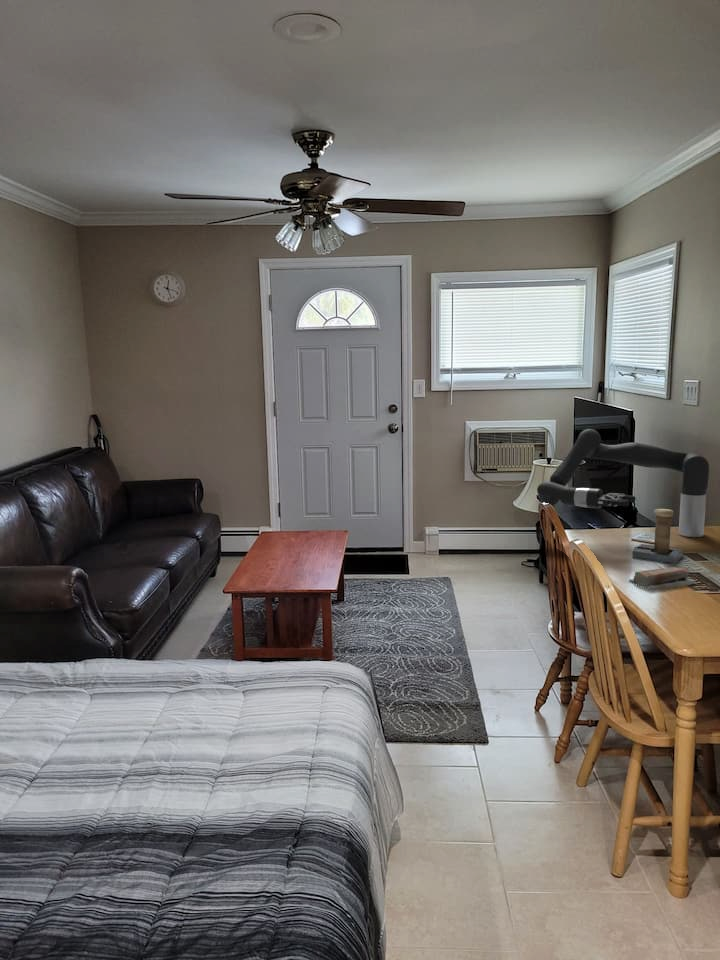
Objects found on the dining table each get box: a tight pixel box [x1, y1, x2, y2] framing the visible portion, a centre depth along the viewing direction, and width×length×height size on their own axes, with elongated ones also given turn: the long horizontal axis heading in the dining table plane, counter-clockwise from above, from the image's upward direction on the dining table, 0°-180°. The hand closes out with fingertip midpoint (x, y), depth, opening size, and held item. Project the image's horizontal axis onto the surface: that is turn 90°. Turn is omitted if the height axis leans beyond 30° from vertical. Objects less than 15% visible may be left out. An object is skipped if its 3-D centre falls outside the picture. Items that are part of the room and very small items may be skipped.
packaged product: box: [628, 566, 696, 591], centre depth 221 cm, size 18×5×10 cm
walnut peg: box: [653, 508, 675, 554], centre depth 248 cm, size 6×6×18 cm
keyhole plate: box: [631, 543, 684, 564], centre depth 250 cm, size 12×15×2 cm
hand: (631, 501), depth 254 cm, fingers open, 8 cm apart
